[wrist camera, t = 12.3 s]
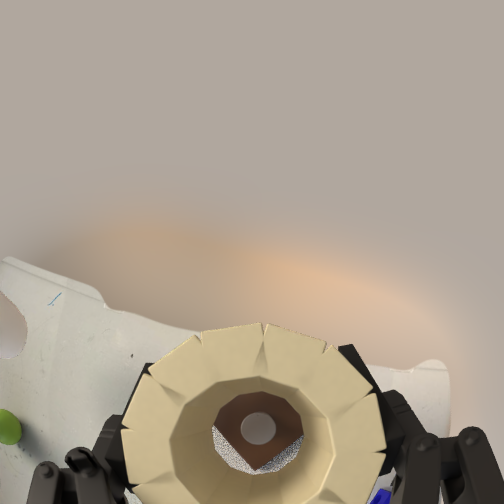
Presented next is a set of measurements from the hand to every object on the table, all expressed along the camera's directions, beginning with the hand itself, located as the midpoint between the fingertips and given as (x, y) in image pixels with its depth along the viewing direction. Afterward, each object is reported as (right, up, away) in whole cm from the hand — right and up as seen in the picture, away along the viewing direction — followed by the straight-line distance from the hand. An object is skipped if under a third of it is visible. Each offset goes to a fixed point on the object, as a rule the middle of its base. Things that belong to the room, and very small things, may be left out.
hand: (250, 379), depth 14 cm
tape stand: (+1, -12, +14) cm, 19 cm away
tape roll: (0, -4, +1) cm, 4 cm away
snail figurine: (-34, -20, +12) cm, 41 cm away
